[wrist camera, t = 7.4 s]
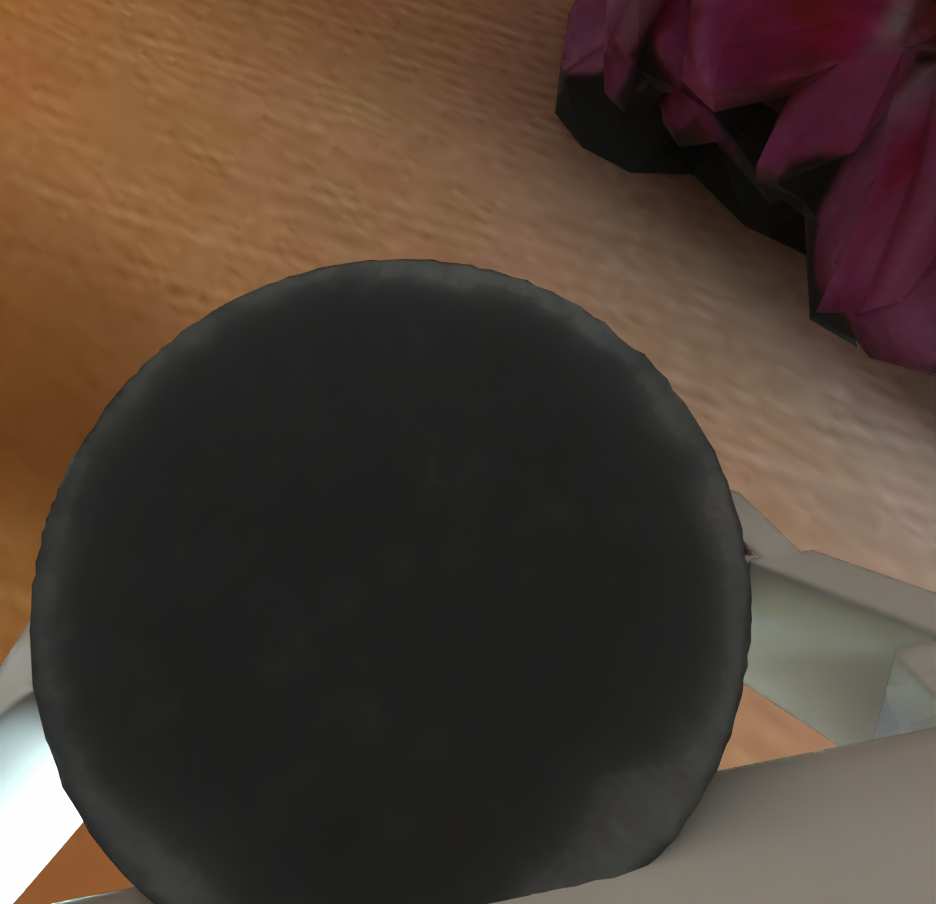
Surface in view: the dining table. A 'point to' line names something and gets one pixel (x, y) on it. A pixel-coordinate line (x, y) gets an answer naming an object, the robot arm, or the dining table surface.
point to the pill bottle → (390, 600)
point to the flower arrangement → (784, 137)
